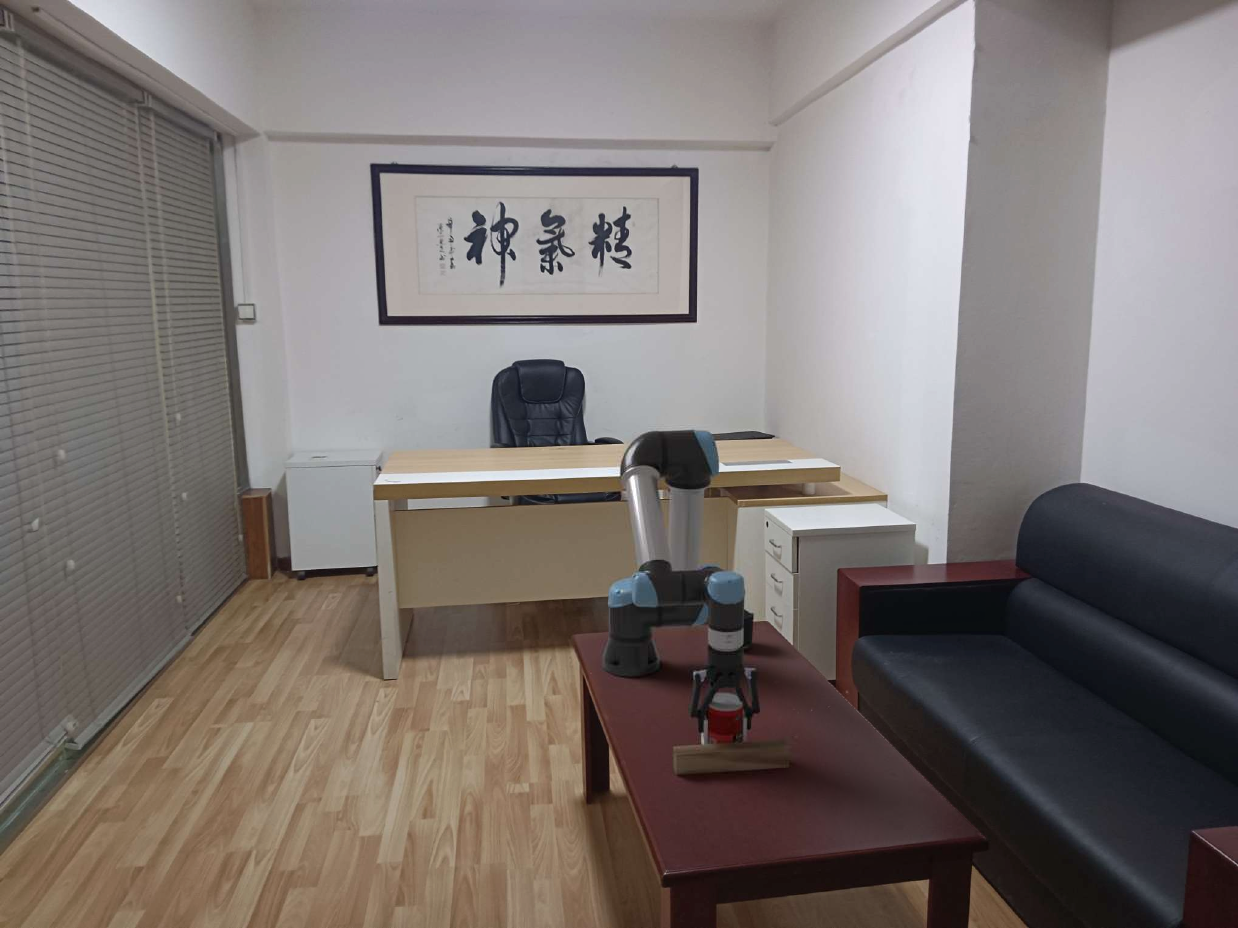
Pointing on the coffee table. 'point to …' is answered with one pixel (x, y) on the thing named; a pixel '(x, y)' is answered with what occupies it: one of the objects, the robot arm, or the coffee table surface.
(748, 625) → the pen holder
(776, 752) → the board
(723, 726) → the canned food
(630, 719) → the coffee table surface
